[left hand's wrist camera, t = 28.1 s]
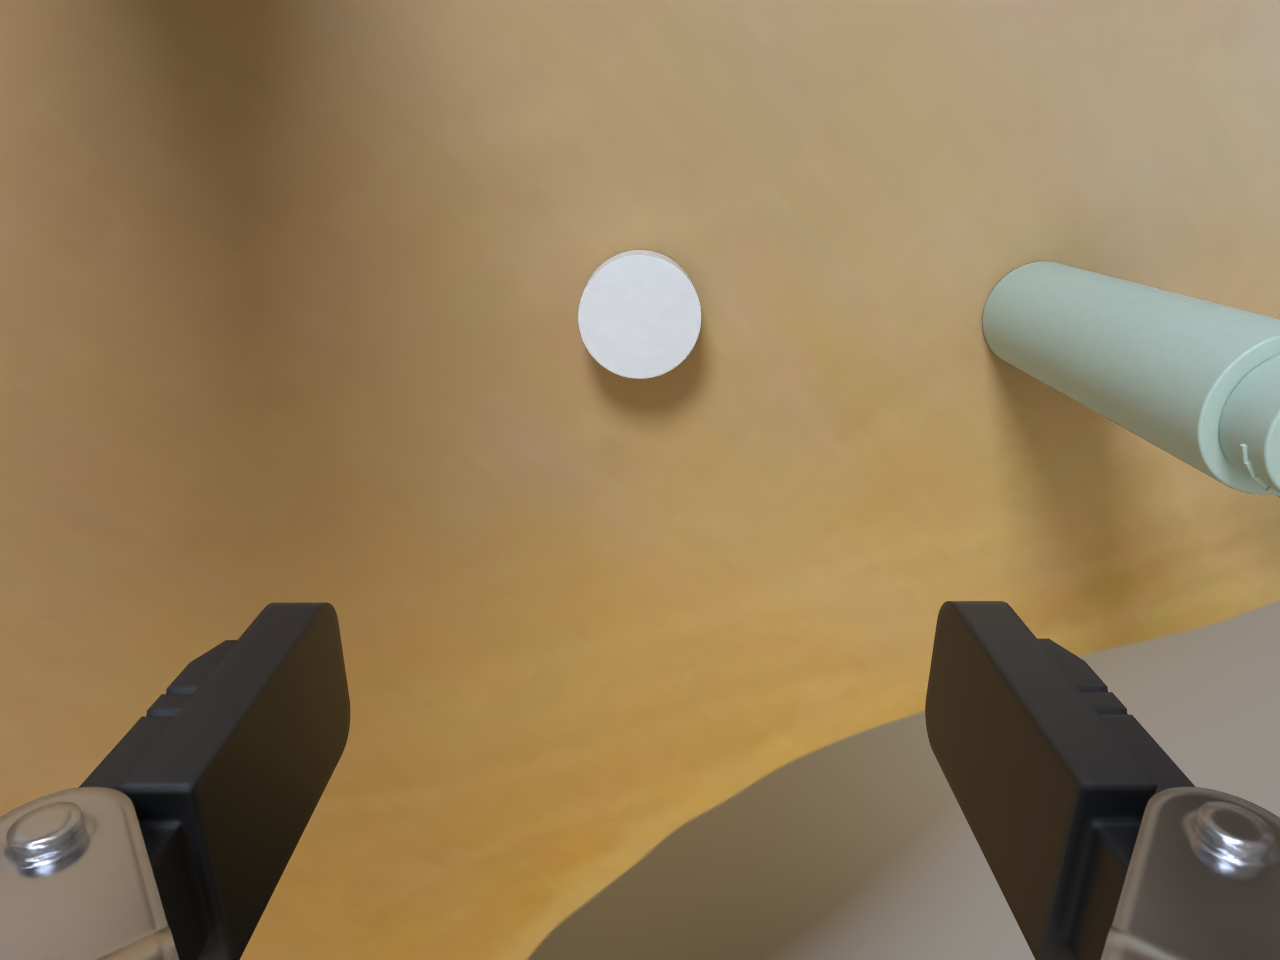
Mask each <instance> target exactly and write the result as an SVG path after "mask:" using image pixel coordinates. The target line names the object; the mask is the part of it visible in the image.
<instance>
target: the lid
mask: <svg viewBox="0 0 1280 960" xmlns="http://www.w3.org/2000/svg"><path fill="white" fill-rule="evenodd" d="M578 324H579V330H580V334H581V337H582V340H583V342H584V344H585V346H586V348H587V350H588V351H589V353H590V354H591V355H592V357H593V358H594V359H595V360H596V361H597V362H598V363H599V364H600V365H602V366H603V367H604V368H606V369H607V370H609V371H611V372H613V373H615V374H617V375H620V376H623V377H627V378H634V379H646V378H653V377H656V376H660V375H662V374H665V373H667V372H669V371H671V370H672V369H674V368H675V367H677V366H678V365H679V364H681V363H682V362H683V361H684V360H685V359H686V357H687V356H688V355H689V354H690V352H691V351H692V349H693V347H694V346H695V344H696V341H697V339H698V336H699V332H700V328H701V306H700V302H699V298H698V295H697V293H696V290H695V288H694V285H693V283H692V281H691V280H690V278H689V276H688V275H687V274H686V272H685V271H684V270H683V269H682V268H681V267H680V266H679V265H678V264H677V263H676V262H674V261H673V260H672V259H670V258H668V257H666V256H664V255H662V254H660V253H656V252H653V251H646V250H633V251H627V252H623V253H620V254H618V255H615V256H613V257H611V258H610V259H608V260H606V261H605V262H604V263H603V264H601V265H600V266H599V267H598V268H597V269H596V270H595V272H594V273H593V274H592V276H591V277H590V279H589V281H588V283H587V284H586V287H585V289H584V291H583V294H582V297H581V300H580V304H579V310H578Z"/></svg>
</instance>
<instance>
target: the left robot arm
mask: <svg viewBox="0 0 1280 960" xmlns="http://www.w3.org/2000/svg"><path fill="white" fill-rule="evenodd" d="M925 715H926V726H927V733H928V738H929V741H930V745H931V748H932V750H933V752H934V754H935V756H936V758H937V761H938V763H939V765H940V767H941V769H942V771H943V773H944V775H945V777H946V779H947V781H948V783H949V785H950V787H951V789H952V791H953V793H954V795H955V797H956V799H957V801H958V803H959V805H960V807H961V809H962V811H963V813H964V815H965V817H966V819H967V821H968V823H969V825H970V827H971V830H972V832H973V833H974V836H975V838H976V840H977V842H978V844H979V846H980V848H981V850H982V852H983V854H984V856H985V858H986V860H987V862H988V864H989V866H990V868H991V870H992V872H993V874H994V876H995V878H996V880H997V882H998V884H999V886H1000V888H1001V890H1002V892H1003V894H1004V896H1005V899H1006V901H1007V902H1008V905H1009V907H1010V909H1011V911H1012V913H1013V915H1014V917H1015V919H1016V921H1017V923H1018V925H1019V927H1020V929H1021V931H1022V933H1023V935H1024V937H1025V939H1026V941H1027V943H1028V945H1029V947H1030V949H1031V951H1032V953H1033V955H1034V957H1035V959H1036V960H1280V817H1278V816H1276V815H1275V814H1273V813H1271V812H1270V811H1268V810H1266V809H1264V808H1262V807H1260V806H1258V805H1256V804H1254V803H1252V802H1249V801H1247V800H1244V799H1242V798H1239V797H1237V796H1233V795H1230V794H1227V793H1224V792H1220V791H1216V790H1211V789H1206V788H1198V787H1195V786H1194V785H1193V784H1192V782H1191V781H1190V780H1189V779H1188V778H1187V777H1186V776H1185V774H1184V773H1183V772H1182V771H1181V770H1180V769H1179V768H1178V767H1177V765H1176V764H1175V763H1174V762H1173V761H1172V760H1171V759H1170V757H1169V756H1168V755H1167V754H1166V753H1165V752H1164V751H1163V750H1162V748H1161V747H1160V746H1159V745H1158V744H1157V743H1156V742H1155V740H1154V739H1153V738H1152V737H1151V736H1150V735H1149V734H1148V732H1147V731H1146V730H1145V729H1144V728H1143V727H1142V726H1141V725H1140V723H1139V722H1138V721H1137V720H1136V719H1135V718H1134V717H1133V715H1128V714H1127V709H1126V708H1125V706H1124V705H1123V704H1122V703H1121V702H1120V701H1119V700H1118V698H1117V697H1116V696H1115V695H1114V694H1113V693H1112V692H1108V689H1107V686H1106V685H1105V684H1104V683H1103V681H1102V680H1101V679H1100V678H1099V677H1098V676H1097V675H1096V673H1095V672H1094V671H1093V670H1092V669H1091V668H1090V667H1089V666H1088V664H1087V663H1086V662H1085V661H1084V660H1082V659H1080V658H1079V657H1077V656H1076V655H1074V654H1072V653H1071V652H1069V651H1068V650H1066V649H1064V648H1063V647H1061V646H1060V645H1058V644H1056V643H1055V642H1053V641H1052V640H1050V639H1037V638H1036V637H1035V636H1034V635H1033V633H1032V632H1031V631H1030V630H1029V629H1028V627H1027V626H1026V625H1025V624H1024V622H1023V621H1022V620H1021V619H1020V618H1019V616H1018V615H1017V614H1016V613H1015V612H1014V610H1013V609H1012V608H1011V607H1010V606H1009V605H1008V604H1007V603H1006V602H1002V601H947V602H945V603H944V604H943V605H942V606H941V609H940V611H939V614H938V619H937V625H936V633H935V640H934V647H933V654H932V661H931V668H930V675H929V682H928V689H927V696H926V706H925ZM349 726H350V700H349V693H348V686H347V679H346V672H345V665H344V658H343V652H342V645H341V638H340V631H339V624H338V618H337V614H336V611H335V609H334V607H333V606H332V605H331V604H330V603H270V604H268V605H267V606H266V607H265V608H264V609H263V610H262V612H261V613H260V614H259V615H258V616H257V618H256V619H255V620H254V621H253V622H252V624H251V625H250V626H249V627H248V628H247V630H246V631H245V632H244V633H243V634H242V636H241V637H240V638H239V639H238V640H226V641H224V642H223V643H221V644H219V645H218V646H216V647H214V648H213V649H211V650H210V651H208V652H206V653H205V654H203V655H202V656H200V657H198V658H197V659H195V660H194V661H192V662H190V663H189V664H188V665H187V667H186V668H185V669H184V670H183V671H182V672H181V673H180V674H179V676H178V677H177V678H176V679H175V680H174V681H173V682H172V683H171V685H170V686H169V687H168V688H167V692H166V694H162V695H161V696H160V697H159V698H158V699H157V700H156V701H155V703H154V704H153V705H152V706H151V707H150V708H149V709H148V710H147V716H146V717H141V718H140V719H139V721H138V722H137V723H136V724H135V725H134V726H133V727H132V728H131V730H130V731H129V732H128V733H127V734H126V735H125V736H124V737H123V739H122V740H121V741H120V742H119V743H118V744H117V745H116V746H115V748H114V749H113V750H112V751H111V752H110V753H109V754H108V755H107V757H106V758H105V759H104V760H103V761H102V762H101V763H100V764H99V766H98V767H97V768H96V769H95V770H94V771H93V772H92V773H91V775H90V776H89V777H88V778H87V779H86V780H85V781H84V782H83V784H82V785H81V786H80V787H79V788H74V789H69V790H64V791H60V792H56V793H53V794H50V795H46V796H43V797H41V798H38V799H36V800H33V801H31V802H28V803H26V804H24V805H22V806H20V807H18V808H16V809H14V810H12V811H10V812H9V813H7V814H5V815H4V816H2V817H0V960H240V958H241V956H242V954H243V952H244V950H245V948H246V946H247V944H248V942H249V940H250V938H251V936H252V934H253V932H254V930H255V928H256V926H257V924H258V922H259V920H260V918H261V916H262V914H263V912H264V910H265V908H266V906H267V904H268V902H269V900H270V898H271V896H272V894H273V892H274V890H275V888H276V886H277V884H278V881H279V879H280V877H281V875H282V873H283V871H284V869H285V867H286V865H287V863H288V861H289V859H290V857H291V855H292V853H293V851H294V849H295V847H296V845H297V843H298V841H299V839H300V837H301V835H302V833H303V831H304V829H305V827H306V825H307V823H308V821H309V819H310V817H311V815H312V813H313V811H314V809H315V807H316V805H317V803H318V801H319V799H320V797H321V795H322V793H323V791H324V789H325V787H326V785H327V783H328V781H329V779H330V777H331V775H332V773H333V771H334V769H335V767H336V765H337V763H338V761H339V759H340V757H341V755H342V753H343V751H344V748H345V745H346V742H347V738H348V733H349Z"/></svg>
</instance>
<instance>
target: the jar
mask: <svg viewBox="0 0 1280 960" xmlns="http://www.w3.org/2000/svg"><path fill="white" fill-rule="evenodd" d="M982 322H983V332H984V336H985V339H986V342H987V344H988V346H989V347H990V349H991V350H992V351H993V352H994V353H995V354H996V355H997V356H998V357H999V358H1000V359H1002V360H1003V361H1005V362H1007V363H1009V364H1011V365H1012V366H1014V367H1016V368H1018V369H1020V370H1021V371H1023V372H1025V373H1027V374H1028V375H1030V376H1032V377H1034V378H1036V379H1037V380H1039V381H1041V382H1043V383H1044V384H1046V385H1048V386H1050V387H1052V388H1053V389H1055V390H1057V391H1059V392H1061V393H1062V394H1064V395H1066V396H1068V397H1069V398H1071V399H1073V400H1075V401H1077V402H1078V403H1080V404H1082V405H1084V406H1085V407H1087V408H1089V409H1091V410H1093V411H1094V412H1096V413H1098V414H1100V415H1102V416H1103V417H1105V418H1107V419H1109V420H1110V421H1112V422H1114V423H1116V424H1118V425H1119V426H1121V427H1123V428H1125V429H1126V430H1128V431H1130V432H1132V433H1134V434H1135V435H1137V436H1139V437H1141V438H1143V439H1144V440H1146V441H1148V442H1150V443H1151V444H1153V445H1155V446H1157V447H1159V448H1160V449H1162V450H1164V451H1166V452H1168V453H1169V454H1171V455H1173V456H1175V457H1176V458H1178V459H1180V460H1182V461H1184V462H1185V463H1187V464H1189V465H1191V466H1192V467H1194V468H1196V469H1198V470H1200V471H1201V472H1203V473H1205V474H1207V475H1209V476H1210V477H1212V478H1214V479H1216V480H1217V481H1219V482H1221V483H1223V484H1225V485H1226V486H1228V487H1230V488H1232V489H1235V490H1238V491H1240V492H1245V493H1250V494H1275V495H1277V496H1279V497H1280V320H1279V319H1275V318H1272V317H1268V316H1264V315H1260V314H1256V313H1252V312H1248V311H1244V310H1240V309H1236V308H1232V307H1228V306H1224V305H1220V304H1217V303H1213V302H1209V301H1205V300H1201V299H1197V298H1193V297H1189V296H1185V295H1181V294H1177V293H1173V292H1169V291H1165V290H1162V289H1158V288H1154V287H1150V286H1146V285H1142V284H1138V283H1134V282H1130V281H1126V280H1122V279H1118V278H1114V277H1111V276H1107V275H1103V274H1099V273H1095V272H1091V271H1087V270H1083V269H1079V268H1075V267H1071V266H1067V265H1063V264H1059V263H1055V262H1049V261H1040V262H1033V263H1029V264H1026V265H1023V266H1021V267H1019V268H1017V269H1015V270H1013V271H1012V272H1010V273H1009V274H1008V275H1006V276H1005V277H1004V278H1003V279H1002V280H1001V281H1000V282H999V283H998V284H997V285H996V286H995V288H994V289H993V291H992V292H991V294H990V296H989V298H988V300H987V302H986V305H985V308H984V313H983V321H982Z"/></svg>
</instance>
